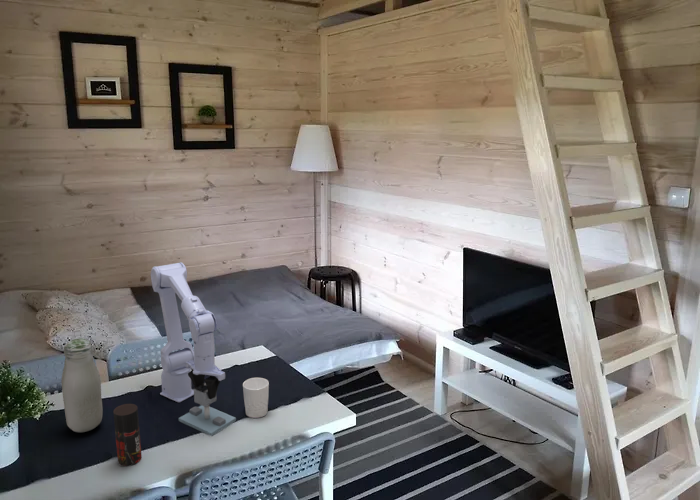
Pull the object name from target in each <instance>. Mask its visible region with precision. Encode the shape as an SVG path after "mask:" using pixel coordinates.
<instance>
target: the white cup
mask: <svg viewBox="0 0 700 500" xmlns="http://www.w3.org/2000/svg"><path fill="white" fill-rule="evenodd" d="M269 382H270V381H269V380H268V379H266V378H263V377H251V378H248V379H246V380H245V381H244V382H243V383H242V389H243V390H242V391H243V400H244V407H245V415H246V416H247V417H248V418H252V419H259V418H262V417H264V416H266V415H267V413H268V409H269V408H268V407H269V406H268V405H269V392H270V391H269V389H270V387H269V386H270V384H269Z"/></svg>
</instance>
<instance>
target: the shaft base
mask: <svg viewBox="0 0 700 500" xmlns="http://www.w3.org/2000/svg"><path fill="white" fill-rule="evenodd" d="M188 410H189V412H186V413H185V414H184V415H181V416H180V417H178V422H180V423H181V424H184V425H186V426H188V427H190V428H193V429H195V430H197V431H199V432H200V433H203V434H206V435H208V436H210V437H213V436H214V435H216V434H218V433H219V432H221V431H223V430H224V429H225V428H226V427H228V426H230V425H232V424H234V423H235V422H236V421H237V418H236V416H232V415H230V414H228V413H226V412H223V411H220V410H218V409H216V408H214V407H211V406H210V404H209V405H207V406H206V407H204V406H202V405H199V406H193V407H191V408H190V409H188Z"/></svg>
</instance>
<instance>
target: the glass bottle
mask: <svg viewBox="0 0 700 500" xmlns="http://www.w3.org/2000/svg"><path fill="white" fill-rule="evenodd" d="M63 349H64V351H63V355H64V357H65V358H64V366H63V370H62V374H61V389H62V390H61V393H62V401H63V406H64V408H63V409H64V413H65V419H66V420H65V422H66V426H67V427H68V428H69V429H70V430H71V431H73V432H75V433H85V432H89V431H92V430H94V429H95V428H96V427H98V426H99V425H100V424H101V422H102V419H103V413H104V411H103V400H102V398H103V397H102V381H101V376H100V373H99V370H98V368H97V366H96V363H95V360H94V356H93V352H94V350H93V346H92V343H91V341H90V340H88V338H82V337H81V338H80V337H79V338H76V339H72V340H69V341H68V342H67V343H66V344H65V345H64V347H63Z"/></svg>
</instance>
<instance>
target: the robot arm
mask: <svg viewBox="0 0 700 500" xmlns="http://www.w3.org/2000/svg"><path fill="white" fill-rule="evenodd" d="M150 279H151V280H150V281H151V286H152V289H153V293H154V292H155V293H158V296H159V300H160V304H161V305H160V306H161V310H162V311H161V312H162V316H163V323H164V328H165V333H166V338H167V342H166V344H165V345H164V346H163V347H162V348H161V349H160V364H161V368H162V372H161V375H160V376H161V377H160V378H161V379H160V380H161V392H160V393H159V394H160V395H161V396H163V397H165V398H168V399H169V400H172V401H173V402H174V401H175V402H177V403H181V402H183V401H185V400H187V399H189V398H191V397H192V396H193V397H194V388H196V387H198V386H200V385H202V384H204V383H206V385H207V389H208V396H209V399H213V398H214V397H216V395H217V392H218V388H219V385H220V383H221V381H222V380H225V379H226V372H225V371H223V370H221V369H220V368H219V367H218V366H217V365H216V364H215V363H216V362H215V339H214V336H215V335H214V332H216V331H217V329H218V323H217V318H216V316H215V314H214V313H213V312H212V311H210V310H208V309H206V307H205V306H204V304H203V302H202V301H201V299H200V297H199V296H197V295H193V293H192V291H191V288H190V286H189V284H188V280H187V279H188V271H187V267H186V265H185V264H184V263H183V262H182V261H181V262H177V263H168V264H164V265H158V266H157V265H155V266H152V268H151V270H150ZM176 296H177V297H178V298H179V299H180V300H181V303H180V308H181V310H182V311H183V313H184V315H185V317H186V318H187V320H188V322H189V323H188V326H189V327H188V328H189V330H190V336H191V340H192V341H193V345H192V343H191V342H189V341H187V340H185V339H184V335H183V331H182V330H183V329H182V323H181V318H180V313H179V307H178V302H177V301H178V300H177V297H176ZM205 376H208V377H207V378H205ZM192 384H193V386H194V388H192Z"/></svg>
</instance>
